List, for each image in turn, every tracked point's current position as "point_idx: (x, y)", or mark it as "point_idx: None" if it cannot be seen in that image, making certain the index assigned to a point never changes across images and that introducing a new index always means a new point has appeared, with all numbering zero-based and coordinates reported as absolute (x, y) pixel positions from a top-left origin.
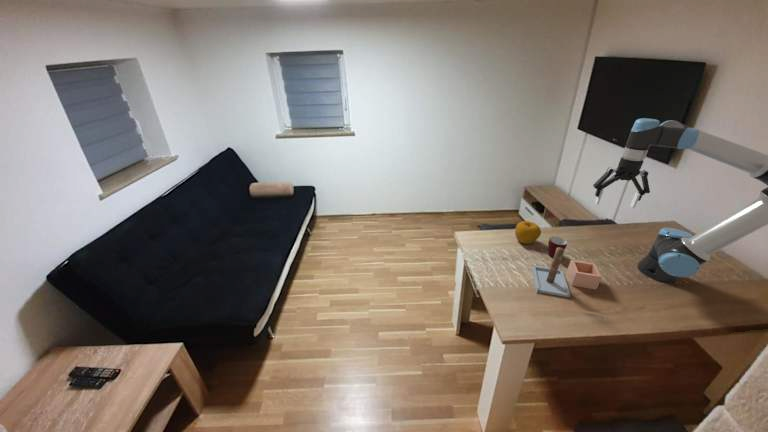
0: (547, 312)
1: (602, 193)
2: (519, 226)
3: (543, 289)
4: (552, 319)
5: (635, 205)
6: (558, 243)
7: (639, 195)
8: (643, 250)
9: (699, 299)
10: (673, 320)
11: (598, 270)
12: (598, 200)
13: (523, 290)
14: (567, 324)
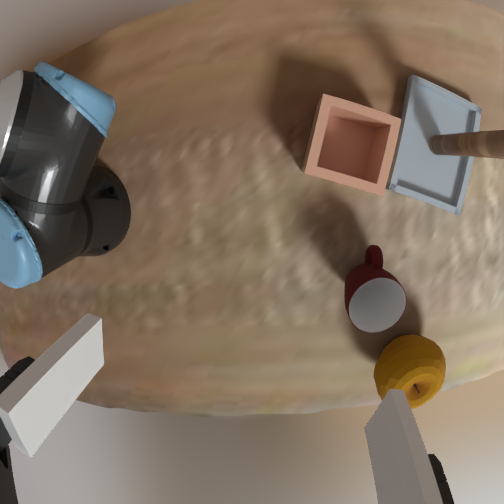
0: (467, 48)
1: (422, 485)
2: (443, 379)
3: (470, 106)
4: (461, 29)
5: (73, 327)
6: (354, 313)
7: (4, 396)
8: (83, 306)
9: None
10: (174, 20)
11: (315, 129)
12: (411, 418)
13: (497, 124)
14: (436, 11)
